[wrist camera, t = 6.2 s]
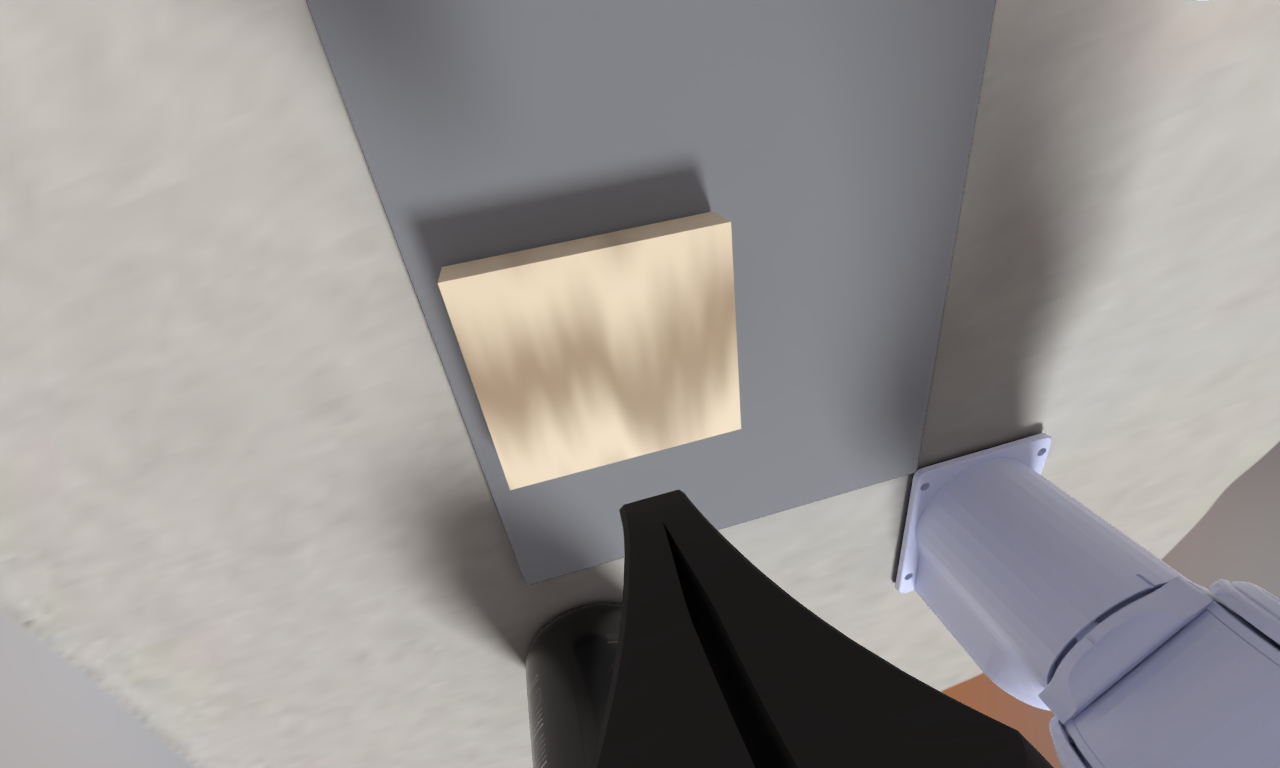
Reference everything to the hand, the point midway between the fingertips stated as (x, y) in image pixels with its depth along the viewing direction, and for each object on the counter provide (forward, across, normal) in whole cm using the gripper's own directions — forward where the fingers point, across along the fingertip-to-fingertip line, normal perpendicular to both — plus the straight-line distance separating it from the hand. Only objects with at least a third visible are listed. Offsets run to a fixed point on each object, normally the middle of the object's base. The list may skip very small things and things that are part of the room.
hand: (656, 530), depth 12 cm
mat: (+10, -5, 0) cm, 11 cm away
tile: (+8, -5, 0) cm, 10 cm away
